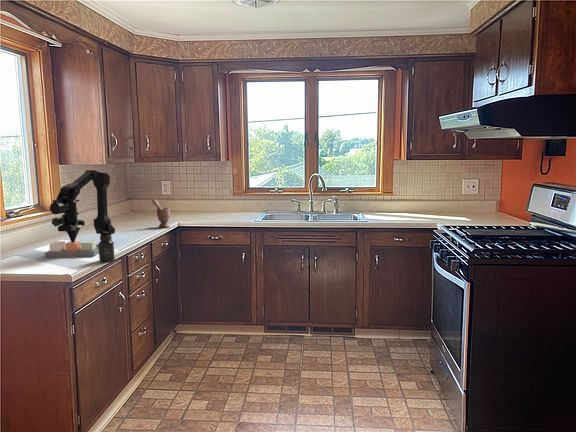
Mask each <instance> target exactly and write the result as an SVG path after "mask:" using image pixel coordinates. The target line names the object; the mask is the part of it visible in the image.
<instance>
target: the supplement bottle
mask: <svg viewBox="0 0 576 432" xmlns="http://www.w3.org/2000/svg"><path fill="white" fill-rule="evenodd" d="M111 236H112V235H111ZM111 236H110V235H103V236H99V240H100V241H99V242H98V245H97V246H98V249H99V254H98V258H99V259H98V260H99V262H101V263H110V262H114V261H115V260H116V257H115V255H116V254H115V242H114V241H113V240H112V241H111ZM113 242H114V243H113Z"/></svg>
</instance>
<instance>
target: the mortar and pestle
mask: <svg viewBox="0 0 576 432" xmlns="http://www.w3.org/2000/svg"><path fill="white" fill-rule="evenodd" d="M151 202H152V204H153V205H154V206H155V207H156V216H157V219H158V221H159V222H160V224H158V228H159V229H168V228H170V227H171V225H170V224H169V223H168V222H169V220H170V217H171V208H170V207H161V205H160V204H159V202H158V200H157V199H155V198H153V199H152V200H151Z"/></svg>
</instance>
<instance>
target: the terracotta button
mask: <svg viewBox="0 0 576 432" xmlns="http://www.w3.org/2000/svg"><path fill="white" fill-rule="evenodd" d="M81 243H82V242H81V240H80V241H79V240H77V241H76V240H75V242H74V243H72V242H71V240H70V241H68V242H65V248H66V251H78V250H80V249H81Z"/></svg>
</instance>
